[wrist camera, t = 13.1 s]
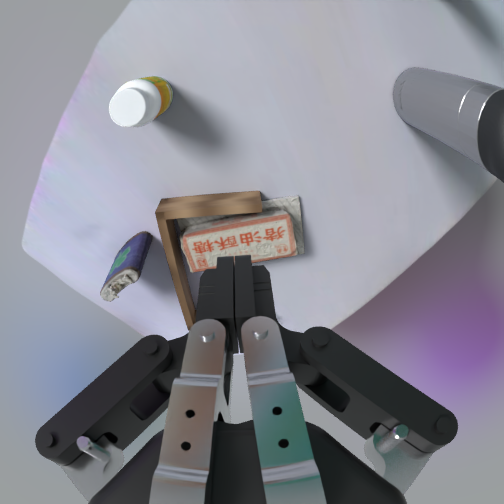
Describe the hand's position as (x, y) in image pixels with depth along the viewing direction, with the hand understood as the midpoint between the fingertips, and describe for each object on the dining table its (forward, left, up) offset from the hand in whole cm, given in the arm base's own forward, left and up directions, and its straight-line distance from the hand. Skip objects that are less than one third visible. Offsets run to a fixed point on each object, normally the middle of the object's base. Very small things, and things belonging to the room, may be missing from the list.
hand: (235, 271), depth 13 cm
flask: (+18, +17, -27) cm, 37 cm away
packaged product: (0, +16, -28) cm, 32 cm away
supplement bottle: (+10, -6, -27) cm, 30 cm away
